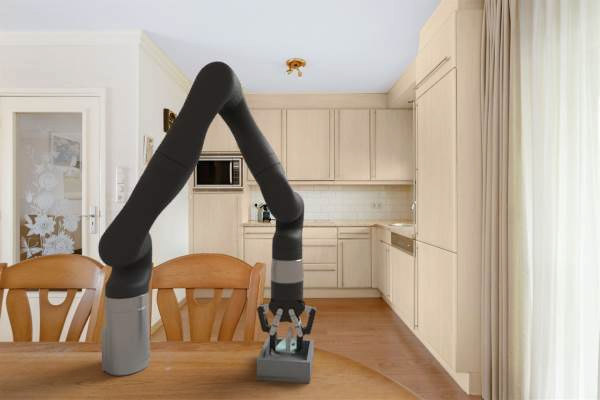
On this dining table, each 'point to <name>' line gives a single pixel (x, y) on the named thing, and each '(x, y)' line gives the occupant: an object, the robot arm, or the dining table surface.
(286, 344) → the pacifier
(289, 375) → the bin
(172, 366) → the dining table surface
